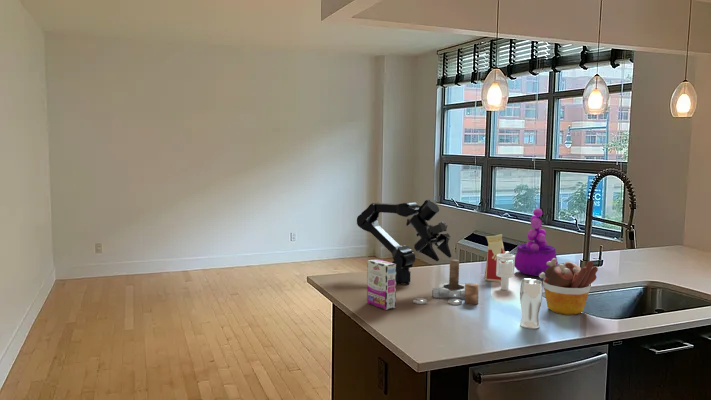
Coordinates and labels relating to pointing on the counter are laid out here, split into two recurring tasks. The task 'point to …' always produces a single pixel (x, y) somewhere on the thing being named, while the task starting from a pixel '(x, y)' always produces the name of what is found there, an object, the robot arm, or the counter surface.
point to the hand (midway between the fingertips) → (444, 258)
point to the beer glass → (530, 302)
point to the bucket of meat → (567, 286)
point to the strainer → (505, 269)
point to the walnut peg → (454, 275)
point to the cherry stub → (471, 293)
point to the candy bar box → (381, 284)
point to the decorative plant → (534, 249)
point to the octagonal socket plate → (449, 292)
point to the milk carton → (493, 257)
